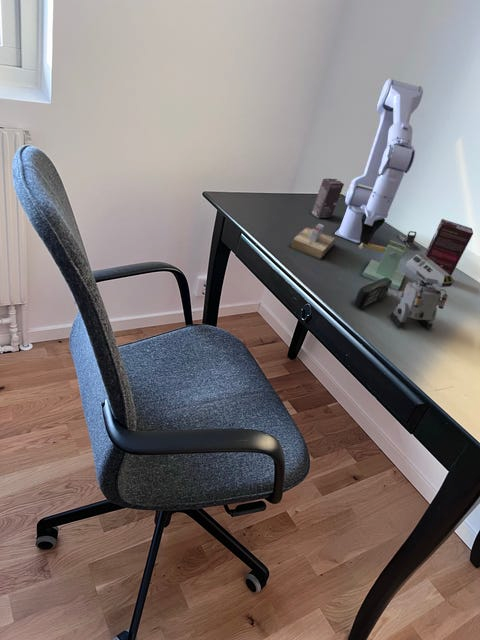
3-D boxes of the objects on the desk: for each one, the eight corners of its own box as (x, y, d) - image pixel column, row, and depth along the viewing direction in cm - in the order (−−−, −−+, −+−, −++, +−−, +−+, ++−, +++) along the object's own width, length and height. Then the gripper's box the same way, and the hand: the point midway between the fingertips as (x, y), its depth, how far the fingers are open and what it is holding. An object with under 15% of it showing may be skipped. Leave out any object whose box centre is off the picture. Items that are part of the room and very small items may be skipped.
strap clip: (397, 236, 156) (402, 225, 153) (405, 237, 157) (410, 225, 154) (410, 249, 149) (416, 237, 147) (418, 249, 150) (424, 237, 148)
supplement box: (446, 277, 137) (473, 228, 128) (446, 284, 133) (474, 233, 124) (417, 267, 138) (441, 217, 129) (416, 274, 134) (442, 223, 125)
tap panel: (303, 234, 140) (306, 226, 138) (333, 246, 137) (336, 238, 136) (289, 246, 130) (292, 238, 129) (321, 259, 128) (324, 251, 126)
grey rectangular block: (315, 234, 135) (319, 222, 133) (320, 236, 134) (324, 224, 132) (309, 240, 131) (313, 228, 128) (314, 242, 130) (318, 230, 128)
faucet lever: (357, 251, 125) (359, 242, 124) (362, 244, 130) (364, 236, 128) (396, 260, 122) (399, 252, 121) (400, 254, 126) (402, 245, 125)
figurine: (409, 305, 117) (436, 252, 109) (433, 333, 108) (465, 278, 100) (378, 303, 115) (402, 248, 106) (400, 332, 106) (429, 275, 97)
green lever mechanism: (362, 275, 125) (375, 244, 120) (370, 262, 133) (382, 233, 128) (398, 290, 123) (413, 259, 118) (404, 276, 131) (418, 246, 126)
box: (319, 219, 153) (331, 183, 146) (310, 213, 156) (322, 177, 149) (332, 218, 157) (344, 183, 150) (324, 212, 159) (335, 178, 153)
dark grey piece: (368, 294, 107) (398, 277, 117) (357, 287, 108) (388, 271, 118) (360, 311, 110) (390, 294, 120) (350, 305, 111) (380, 288, 121)
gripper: (374, 183, 126) (356, 229, 133) (361, 195, 114) (343, 245, 122) (399, 192, 124) (379, 238, 131) (389, 205, 112) (368, 255, 120)
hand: (363, 242), depth 126 cm, fingers closed, pressing on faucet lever
